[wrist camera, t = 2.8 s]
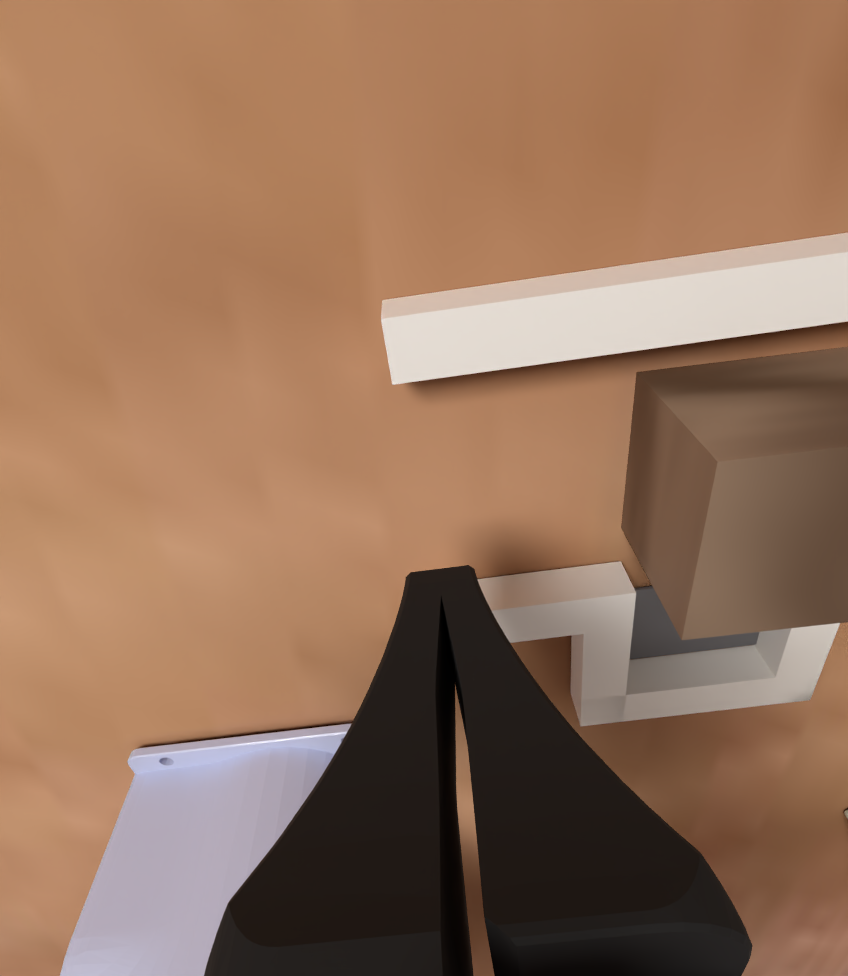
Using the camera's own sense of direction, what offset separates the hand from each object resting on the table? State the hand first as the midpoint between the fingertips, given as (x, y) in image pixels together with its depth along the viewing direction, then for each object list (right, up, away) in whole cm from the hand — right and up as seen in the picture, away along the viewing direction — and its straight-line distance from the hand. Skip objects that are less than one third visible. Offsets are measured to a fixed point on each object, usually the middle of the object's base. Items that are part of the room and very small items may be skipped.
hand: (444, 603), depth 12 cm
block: (+8, +4, +4) cm, 10 cm away
